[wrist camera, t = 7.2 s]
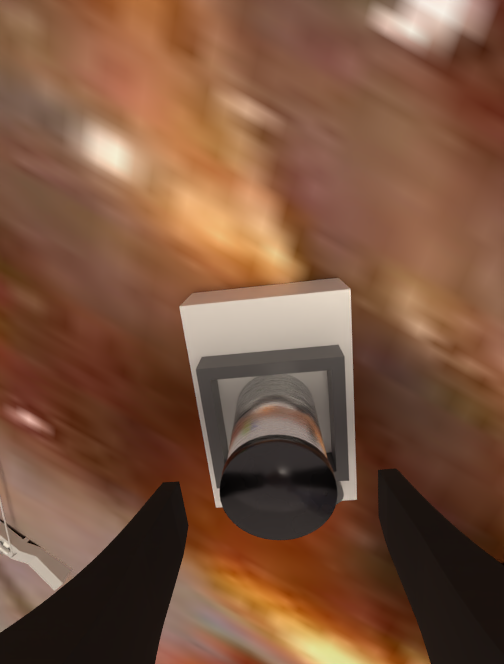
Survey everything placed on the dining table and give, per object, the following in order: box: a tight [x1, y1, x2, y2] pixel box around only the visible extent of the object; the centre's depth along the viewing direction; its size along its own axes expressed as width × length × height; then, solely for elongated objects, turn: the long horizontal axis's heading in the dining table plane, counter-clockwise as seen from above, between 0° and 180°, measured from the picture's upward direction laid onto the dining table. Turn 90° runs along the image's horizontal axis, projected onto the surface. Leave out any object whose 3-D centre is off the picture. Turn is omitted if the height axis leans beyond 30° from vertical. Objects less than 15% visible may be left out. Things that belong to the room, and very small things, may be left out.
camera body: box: [179, 278, 357, 507], centre depth 19 cm, size 12×8×4 cm, turn 7°
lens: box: [220, 374, 338, 540], centre depth 16 cm, size 4×4×6 cm
